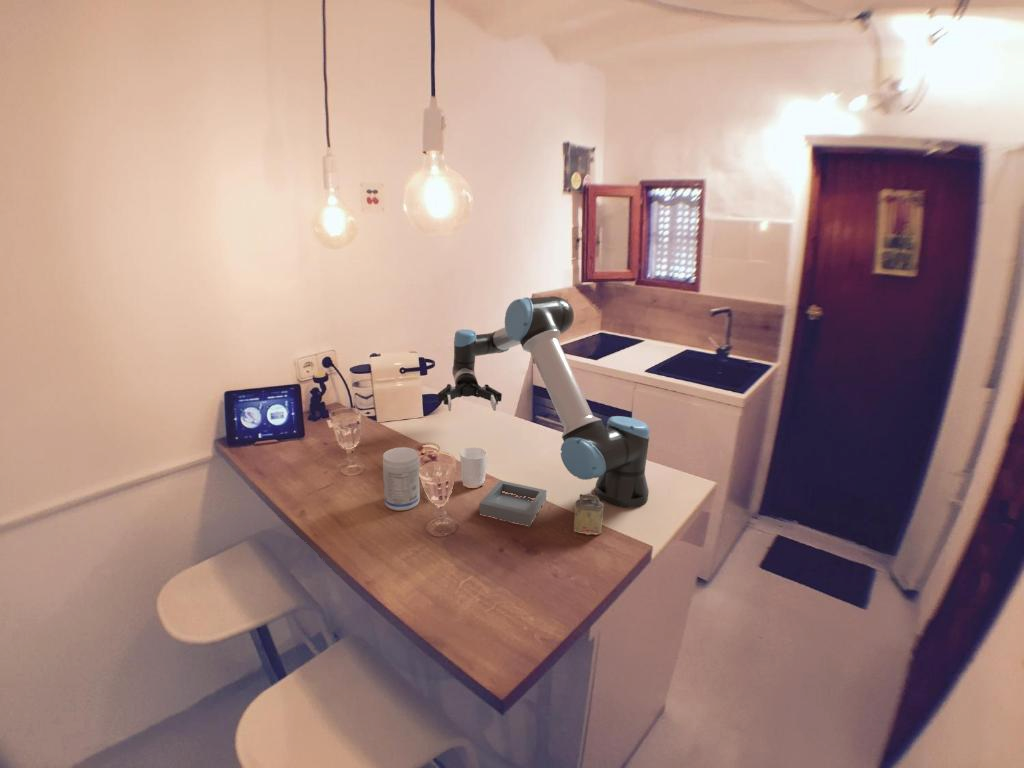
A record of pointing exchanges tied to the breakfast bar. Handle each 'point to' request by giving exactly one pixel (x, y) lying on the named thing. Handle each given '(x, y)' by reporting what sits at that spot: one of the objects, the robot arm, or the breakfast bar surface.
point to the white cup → (473, 466)
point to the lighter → (588, 514)
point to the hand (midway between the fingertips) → (472, 406)
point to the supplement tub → (401, 478)
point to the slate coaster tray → (513, 502)
